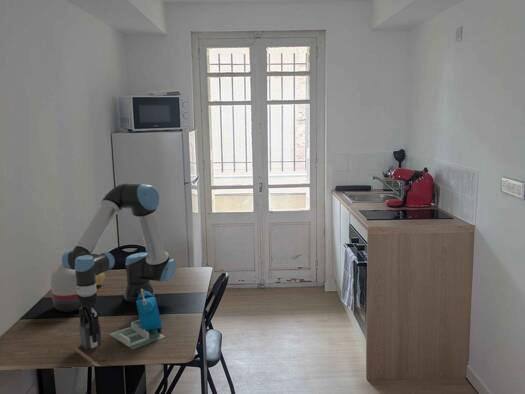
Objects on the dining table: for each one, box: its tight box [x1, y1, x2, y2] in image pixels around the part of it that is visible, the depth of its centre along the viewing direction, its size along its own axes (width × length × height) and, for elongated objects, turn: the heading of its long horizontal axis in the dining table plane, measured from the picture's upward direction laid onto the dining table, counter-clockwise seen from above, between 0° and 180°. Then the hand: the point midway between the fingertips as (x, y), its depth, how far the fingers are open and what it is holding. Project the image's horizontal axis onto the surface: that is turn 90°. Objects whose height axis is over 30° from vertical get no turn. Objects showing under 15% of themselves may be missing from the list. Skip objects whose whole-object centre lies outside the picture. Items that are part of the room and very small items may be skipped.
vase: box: [50, 261, 79, 313], centre depth 255 cm, size 17×17×24 cm
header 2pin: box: [130, 318, 142, 332], centre depth 228 cm, size 6×7×3 cm
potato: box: [95, 272, 106, 287], centre depth 285 cm, size 10×14×10 cm
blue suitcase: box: [135, 289, 163, 335], centre depth 226 cm, size 17×10×20 cm, turn 15°
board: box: [108, 326, 166, 350], centre depth 221 cm, size 20×16×1 cm
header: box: [118, 327, 149, 347], centre depth 217 cm, size 8×10×4 cm
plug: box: [79, 323, 102, 350], centre depth 213 cm, size 5×7×10 cm
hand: (91, 346), depth 214 cm, fingers closed on plug, 5 cm apart
